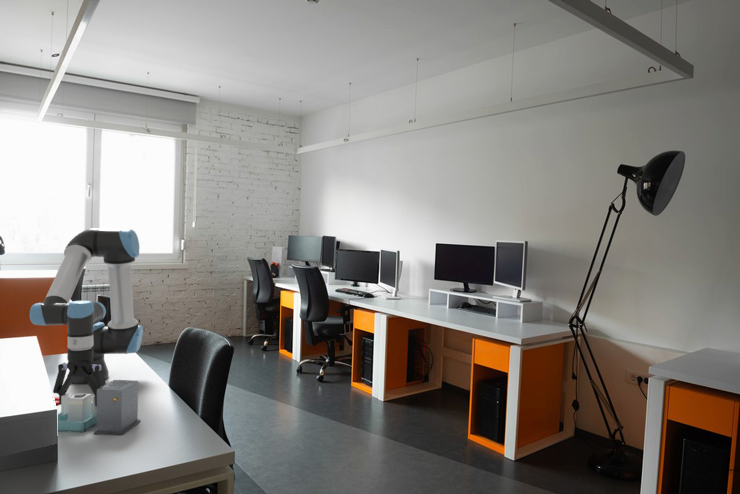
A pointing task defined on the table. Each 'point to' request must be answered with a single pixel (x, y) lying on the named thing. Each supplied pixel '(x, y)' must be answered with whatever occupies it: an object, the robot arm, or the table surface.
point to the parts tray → (75, 423)
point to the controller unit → (117, 407)
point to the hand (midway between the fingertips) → (80, 414)
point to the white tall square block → (79, 407)
